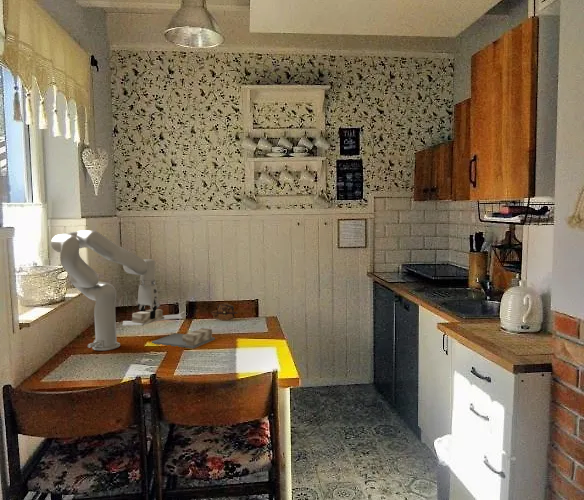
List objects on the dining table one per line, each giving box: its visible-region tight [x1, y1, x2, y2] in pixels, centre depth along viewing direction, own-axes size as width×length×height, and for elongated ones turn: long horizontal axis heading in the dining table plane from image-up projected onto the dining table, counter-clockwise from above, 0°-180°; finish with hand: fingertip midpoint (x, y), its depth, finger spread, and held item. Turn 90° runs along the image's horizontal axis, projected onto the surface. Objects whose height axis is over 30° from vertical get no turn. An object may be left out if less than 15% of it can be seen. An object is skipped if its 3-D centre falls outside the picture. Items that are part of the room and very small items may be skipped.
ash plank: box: [131, 308, 164, 324], centre depth 256 cm, size 16×7×4 cm, turn 155°
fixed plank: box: [182, 327, 213, 346], centre depth 245 cm, size 16×6×4 cm, turn 155°
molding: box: [122, 310, 187, 327], centre depth 299 cm, size 42×12×3 cm, turn 132°
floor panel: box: [151, 332, 216, 349], centre depth 249 cm, size 18×25×1 cm
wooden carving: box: [210, 302, 238, 321], centre depth 296 cm, size 16×5×10 cm, turn 77°
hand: (147, 317), depth 257 cm, fingers closed on ash plank, 6 cm apart
